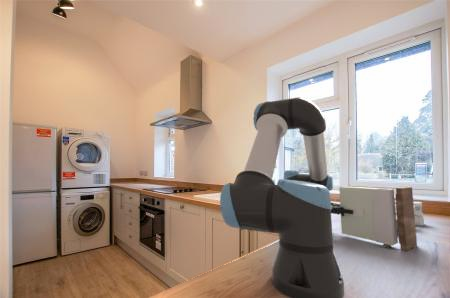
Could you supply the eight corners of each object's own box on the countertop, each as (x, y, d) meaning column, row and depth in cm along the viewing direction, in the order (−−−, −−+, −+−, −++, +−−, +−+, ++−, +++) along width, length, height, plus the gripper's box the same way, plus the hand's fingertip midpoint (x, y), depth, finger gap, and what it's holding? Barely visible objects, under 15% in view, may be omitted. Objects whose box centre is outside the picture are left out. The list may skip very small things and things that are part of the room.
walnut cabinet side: (382, 246, 75) (378, 187, 77) (394, 240, 81) (390, 186, 83) (405, 252, 70) (400, 188, 72) (417, 245, 76) (412, 187, 78)
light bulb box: (424, 224, 108) (422, 201, 109) (423, 226, 103) (421, 203, 104) (396, 220, 115) (395, 199, 116) (395, 222, 110) (393, 201, 111)
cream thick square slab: (340, 233, 85) (338, 186, 87) (347, 231, 88) (344, 186, 90) (392, 245, 72) (388, 189, 73) (397, 242, 74) (393, 189, 76)
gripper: (320, 211, 104) (376, 220, 85) (298, 215, 95) (355, 226, 76) (319, 195, 105) (375, 200, 86) (297, 197, 96) (354, 204, 76)
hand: (365, 212), depth 81 cm, fingers closed on cream thick square slab, 3 cm apart
